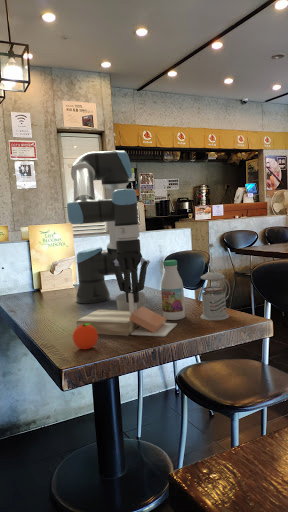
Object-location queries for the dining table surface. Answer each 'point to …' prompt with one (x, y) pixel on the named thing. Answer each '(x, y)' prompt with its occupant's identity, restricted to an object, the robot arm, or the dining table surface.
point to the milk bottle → (172, 292)
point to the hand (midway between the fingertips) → (133, 312)
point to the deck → (110, 322)
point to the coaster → (148, 319)
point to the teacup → (125, 306)
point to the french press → (214, 297)
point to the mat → (161, 332)
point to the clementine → (85, 336)
